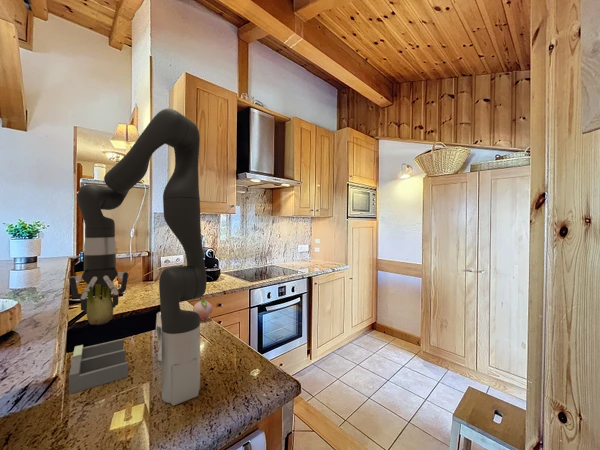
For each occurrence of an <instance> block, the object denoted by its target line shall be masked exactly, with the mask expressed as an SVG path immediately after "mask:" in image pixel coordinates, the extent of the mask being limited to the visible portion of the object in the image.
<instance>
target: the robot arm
mask: <svg viewBox="0 0 600 450" xmlns="http://www.w3.org/2000/svg"><path fill="white" fill-rule="evenodd" d="M200 137H201V136H200V131H199V128H198V126H197V125H196V124H195V122H194V121H192V120H191V119H189V118H188V117H187V116H185V115H183V114H182V113H181V112H179V111H177V110H176V109H173V108H169V107H167V108H164V109H162V110H160V111H159V112H157V114H155V115H154V116H153V117H152V119H151V120H150V122H149V123H148V124H147V125H146V127H145V128H144V130H143V131H142V132H141V134H140V136H138V137H137V139H136V141H135V143H133V145H132V146H131V147H130V149H129V151H128V152H127V153H126V154H124V156H123V157H122V158H121V159H120V160H119V161H118V162H117V163H116V164H115V165H114V166H112V167H111V168H110V169H109V170H108V171H107V172H106V174H105V175H104V177H103V181H104V184H105V185H106V186H103V185H99V184H92V183H90V184H84V185H83V186H81V187H80V188H79V190H78V192H77V195H76V196H77V198H76V199H77V205H78V207H79V210H80V213H81V215H82V219H83V222H84V245H83V273H82V275H77V276H74V275H72V276H70V277H69V286H70V292H71V297H72V298H73V299H79V300H80V310H81V311H83V313H87V298H88V291H90V290H89V287H90V286H92V287H93V289H95V285H96V284H97V285H99V284H101V287H105V288H106V287H107V286H109V288H110V289H111V293H112V303H113V309H115V308H116V306H118V305H119V294H122V293H125V292H126V290H127V284H128V278H129V272H127V271H117V252H116V251H117V244H116V243H117V242H116V226H115V225H116V224H115V223H116V222H115V221H114V219H112V218H111V217H107V216H105V215H104V213H103V212H102V211H103V210H105V211H107V210H108V211H111V210H115V209H117V208H119V207H120V206H121V205H122V204H123V203H124V200H125V199H126V197H127V195H128V194H129V191H130V190H131V189H132V188H133V187H135V186H136V185H137V184H138V183H139V182H141V180H142V179H143V178H144V177H145V176H146V174H147V171H148V169H149V165H150V161H151V158H152V156H153V154H154V153H155V152H156V151H157V150H158V149H160V147H162V146H163V145H167V146H168V147H171V148H173V150H174V168H173V169H174V170H173V173H172V175H171V176H170V178H169V179H168V180H167V181H168V182H167V184H166V185H165V187H164V190H163V195H162V207H163V219H164V222H165V223H166V224H167V226H168V229H170V231H171V232H172V234H174V236H175V237H176V238H177V240H178V242H179V243H180V244H181V246H182V249H183V251H184V255H185V258H186V265H182V266H181V265H180V266H172V267H167V268H164V269H163V270H162V271H161V273H160V274H159V275H160V276H159V283H158V285H159V286H158V287H159V289H158V290H159V303H160V305H159V307H160V311H159V312H161V323H162V361H161V399H162V401H163V402H164V403H167V404H171V406H177V405H178V404H181V403H184V402H186V401H189V400H191V399H194V398H197V397H199V391H200V390H201V319H200V316H199V314H198V313H196V312H193V310H186V309H184V310H183V309H181V306H180V303H182V302H183V303H184V302H187V301H192V300H195V299H199V298H202V297H203V296H204V295H205V293H206V289H207V280H208V279H207V271H206V270H207V269H206V265H205V256H204V251H203V241H202V224H201V202H200V201H201V200H200V199H201V197H200V187H199V186H200V185H199V184H200V183H199V157H200V155H199V153H200V143H201V142H200ZM117 277H119V279H120V280H121V284H120V287H119V288H117V287H116V286H115V283H114V282H113V281H114V280H115V279H116V278H117ZM81 280H83V281H84V282H85V284H87V285H86V287H85V288H84V290H83V292H82V293H81V292H80V293H79V291H78V290H79V289H78V284H80V281H81Z"/></svg>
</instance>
